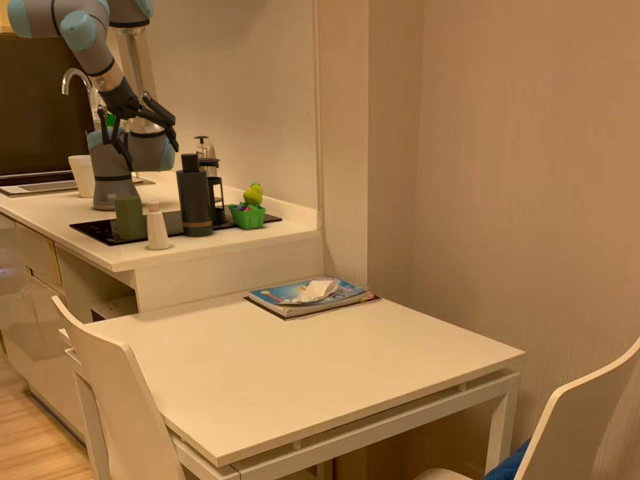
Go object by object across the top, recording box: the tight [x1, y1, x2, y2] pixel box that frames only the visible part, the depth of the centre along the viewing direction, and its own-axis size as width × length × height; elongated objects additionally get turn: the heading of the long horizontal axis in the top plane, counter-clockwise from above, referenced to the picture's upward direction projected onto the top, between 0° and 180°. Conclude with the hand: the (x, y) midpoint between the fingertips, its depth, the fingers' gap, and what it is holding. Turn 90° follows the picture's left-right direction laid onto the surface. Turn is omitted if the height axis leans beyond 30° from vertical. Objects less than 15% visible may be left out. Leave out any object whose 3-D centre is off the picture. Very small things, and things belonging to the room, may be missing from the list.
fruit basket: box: [227, 182, 267, 230], centre depth 196 cm, size 11×9×11 cm
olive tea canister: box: [113, 195, 147, 241], centre depth 185 cm, size 7×7×10 cm
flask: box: [175, 152, 214, 238], centre depth 185 cm, size 8×8×20 cm
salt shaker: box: [146, 200, 171, 251], centre depth 173 cm, size 5×5×11 cm
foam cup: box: [67, 154, 95, 199], centre depth 245 cm, size 10×9×13 cm
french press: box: [193, 135, 227, 226], centre depth 199 cm, size 12×9×23 cm
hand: (154, 155), depth 184 cm, fingers open, 13 cm apart
